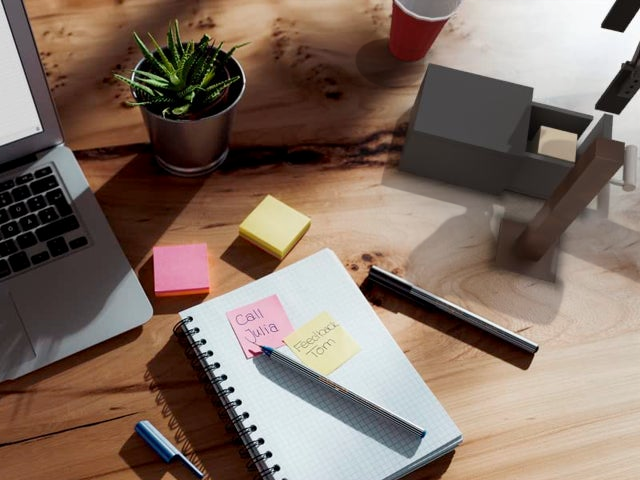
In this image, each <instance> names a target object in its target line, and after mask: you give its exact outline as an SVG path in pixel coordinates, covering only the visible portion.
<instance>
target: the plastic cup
mask: <svg viewBox="0 0 640 480" xmlns="http://www.w3.org/2000/svg"><path fill="white" fill-rule="evenodd" d="M391 1H392V4H391V18H390V28H389V43H388V48H389V51H390V53H391V54H392V55H393V56H394V57H396V58H397V59H399V60H401V61H405V62H410V63H411V62H417V61H420V60H422V59H424V58H425V57H426V56H427V54H428V52H429V50H430V49H431V48H432V46H433V44H434V43H435V42H436V40H437V38H438V36H439V35H440V33H441V32H442V30H443V28H444V27H445V26H446V24H447V23H448V21H449V20H451V18H452V17H454V16H456V15H457V14H458V13H459V11H460V10H461V8H462V7H463V5H464V4H465V0H391Z"/></svg>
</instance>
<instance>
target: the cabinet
mask: <svg viewBox="0 0 640 480" xmlns="http://www.w3.org/2000/svg"><path fill="white" fill-rule="evenodd" d="M426 67H427V68H426V69H425V73H424V76H423V77H422V81H421V83H420V86H419V89H418V91H417V94H416V97H415V99H414V102H413V104H412V108H411V111H410V117H409V120H408V124H407V129H406V132H405V138H404V141H403V145H402V149H401V153H400V157H399V162H398V166H397V171H400V172H403V173H408V174H411V175H415V176H419V177H423V178H427V179H430V180H434V181H438V182H443V183H446V184H450V185H454V186H458V187H461V188H465V189H470V190H474V191H477V192H481V193H485V194H489V195H493V196H498V197H501V194H502V193H503V192H504V190H505V189H504V188H505V187H506V185H507V184H508V182H509V181H510V179H511V178H512V176H513V175H514V173H515V172H516V170H517V168H518V167H519V165H520V164H521V162H522V161H523V159H524V158H525V152H526V144H527V136H528V129H529V121H530V114H531V106H532V101H533V99H534V91H535V87H532V86H528V85H524V84H520V83H516V82H512V81H508V80H503V79H499V78H494V77H490V76H486V75H482V74H477V73H474V72H469V71H465V70H461V69H457V68H452V67H448V66H445V65H440V64H436V63H432V62H428V64H427V66H426Z"/></svg>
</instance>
